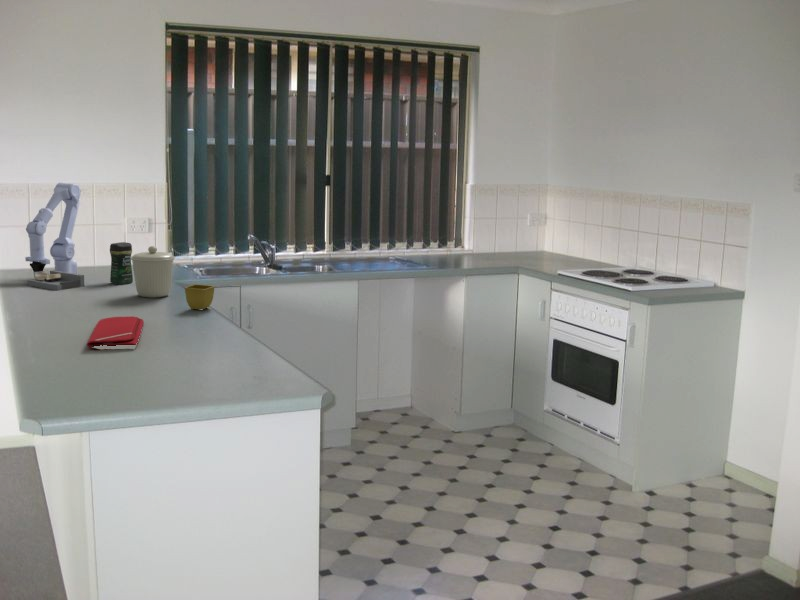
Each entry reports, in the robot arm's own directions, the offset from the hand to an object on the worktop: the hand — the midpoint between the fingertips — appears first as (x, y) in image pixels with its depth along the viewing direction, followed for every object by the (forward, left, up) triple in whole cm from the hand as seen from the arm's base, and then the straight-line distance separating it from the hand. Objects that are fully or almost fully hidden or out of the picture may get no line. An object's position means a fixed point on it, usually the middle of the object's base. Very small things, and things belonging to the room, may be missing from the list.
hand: (38, 278), depth 398 cm
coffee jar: (-23, +28, -2) cm, 36 cm away
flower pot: (-1, +97, -2) cm, 97 cm away
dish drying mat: (+50, +108, -3) cm, 119 cm away
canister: (-10, +62, -2) cm, 63 cm away
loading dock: (0, +12, -2) cm, 12 cm away
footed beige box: (0, +7, -1) cm, 7 cm away
